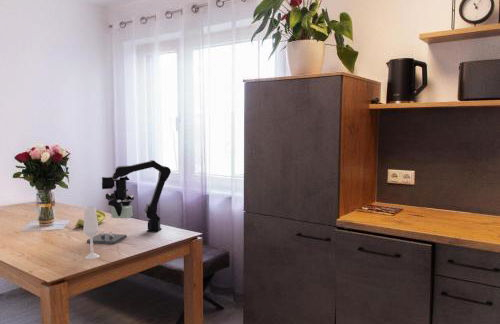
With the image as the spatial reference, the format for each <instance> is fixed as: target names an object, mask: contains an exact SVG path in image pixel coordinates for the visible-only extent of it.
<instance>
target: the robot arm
mask: <svg viewBox="0 0 500 324" xmlns="http://www.w3.org/2000/svg"><path fill="white" fill-rule="evenodd" d="M152 168H153V169H155V170H156V171H158V178H157V182H156V185H155V188H154V191H153V194H152V197H151V201H150V202H149V204H148V203H146V205H145V208H144V214H145V216H146V218H147V219H148V220H147V221H148V222H147V232H154V233H155V232H159V231H161V230H162V227H161V217H160V215H158V214H157V213H158V203H159V201H160V198H161V196H162V192H163V189H164V186H165V183H166V181H168V179H169V177H170V175H171V172H172V171H171V168H170V167H168V166H167V165H161V164H160V163H158V162H157V161H155V160H154V159H152V160H148V161H144V162H139V163H136V164H135V163H134V164H132V165H119V166H116V167H115V168H114V169H115V170H114V173H113V174H112V176H108V177H106V176H102V177H101V189H102V190H111V189H112V190H113V188H115V190H113V193H110V192H108V193H105V199H106V200H107V203H108V206H111V207H114V208H115V209H116V212H117V214H118V216H120V215H121V211H122V207H123V206H131V203H133V201H134V200H135V196H134V195H133V194H128V193H127V192H128V191H129V189H127V181H130V178H129V177H128V175H129V174H132V173H133V172H138V171H142V170H146V169H152Z"/></svg>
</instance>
